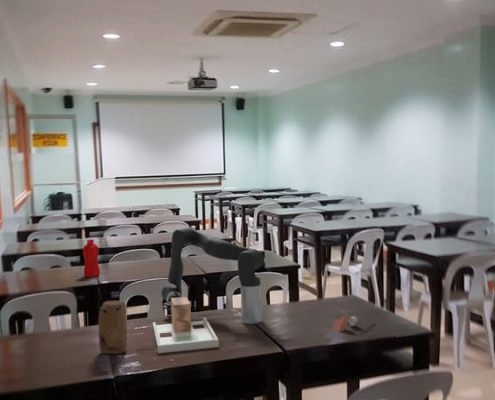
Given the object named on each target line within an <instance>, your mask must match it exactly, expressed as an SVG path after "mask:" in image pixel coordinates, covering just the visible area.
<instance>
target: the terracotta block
mask: <svg viewBox="0 0 495 400" xmlns="http://www.w3.org/2000/svg"><path fill="white" fill-rule="evenodd" d="M189 301H190V300H189V299H188V297H187V296H182V297H177V298H171V310H170V311H171V324H172V326H173V329H174V332H175V333H178V332H188V331H191V322H192V319H191V318H192V317H191V316H192V315H191V302H189Z"/></svg>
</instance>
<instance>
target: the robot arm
mask: <svg viewBox="0 0 495 400" xmlns="http://www.w3.org/2000/svg"><path fill="white" fill-rule="evenodd" d="M188 246H194V247H197V248H200V249H202V250H203V252H204V253H205V254H207V256H210V257H213V258H214V259H219V260H226V261H237V271H238V272H237V273H238V274H237V275H238V279H239V282H240V306H241V307H240V308H241V309H240V310H241V311H240V312H241V316H240V317H241V323H242V324H247V325H253V324H259V323H263V320H264V319H263V301H262V296H261V295H262V294H261V293H262V291H261V278H260V277H258V276H256V271H255V269H257V268H259V267H260V266H262V264H263V262H265V258H264V257H263V255H262V254H261V252H259V251H260V250H258V249H256V248H251V247H245V246H241V245H238V244H235V243H233V242H230V241H227V240H224V239H222V238H218V237H215V236H212V235H208V234H204V233H201V232H200V231H197V230H195V229H194V228H191V227H182V228H177V229H175V230H174V231H173V232H172V235H171V250H170V251H171V253H170V267H169V271H168V278H167V282H168V283H169V284H170V285H164V286H163V287H162V289H161V297H162V299H163V300H164V301H166V302H165V303H163V310H168V311H171V298H177V297H183V291H182V290H183V289H182V280H183V279H182V278H183V274H184V262H183V260H182V252H183V249H184V247H188ZM188 301H189V302H190V300H188ZM190 303H191V302H190Z"/></svg>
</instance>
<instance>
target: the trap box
mask: <svg viewBox="0 0 495 400" xmlns="http://www.w3.org/2000/svg"><path fill="white" fill-rule="evenodd" d="M198 325H203V326H204V327H202V328H201V327H200V328H194V327H193V326H198ZM152 328H153V334H154V339H155V343H156V349H157V354H164V353H165V354H166V353H175V352H185V351H194V350H201V349H202V350H203V349H210V348H211V349H212V348H219V338H218V336H217V335H216V333H215V331H214V329H213V328H212V326H211V325H210V323H209V321H208V319H207V317H202V320H197V321H196V320H195V321H191V331H188V332H178V333H175V332H174V329H173V326H172V323H167V324H166V323H165V324H156V321H155V322H154V321H153V322H152ZM168 333H170V334H171V336H164V337H161V334H168Z"/></svg>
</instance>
